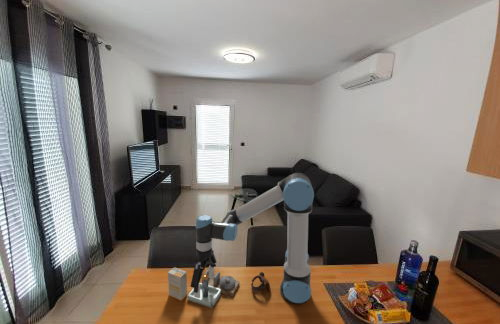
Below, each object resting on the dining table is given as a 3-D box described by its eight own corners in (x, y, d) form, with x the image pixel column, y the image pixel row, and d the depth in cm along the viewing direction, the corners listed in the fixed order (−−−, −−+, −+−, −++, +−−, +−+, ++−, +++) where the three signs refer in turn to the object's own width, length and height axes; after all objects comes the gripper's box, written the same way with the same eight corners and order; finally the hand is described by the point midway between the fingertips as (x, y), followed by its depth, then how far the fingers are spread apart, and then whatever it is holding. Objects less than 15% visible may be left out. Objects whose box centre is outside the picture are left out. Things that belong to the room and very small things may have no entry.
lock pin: (209, 292, 108) (209, 273, 107) (208, 298, 105) (208, 278, 103) (202, 292, 108) (202, 273, 107) (200, 298, 105) (200, 278, 103)
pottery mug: (272, 297, 108) (265, 287, 105) (255, 301, 110) (248, 291, 107) (271, 275, 119) (265, 266, 116) (256, 280, 121) (249, 271, 118)
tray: (221, 293, 109) (221, 289, 108) (212, 308, 100) (212, 303, 100) (198, 286, 113) (198, 282, 113) (187, 299, 104) (187, 295, 104)
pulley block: (239, 284, 116) (239, 274, 115) (232, 296, 107) (232, 286, 106) (209, 275, 121) (209, 266, 120) (201, 286, 113) (201, 276, 112)
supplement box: (187, 294, 108) (187, 271, 105) (181, 301, 103) (180, 277, 101) (175, 289, 111) (174, 266, 109) (168, 295, 107) (167, 272, 104)
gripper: (210, 234, 115) (210, 269, 118) (181, 260, 92) (182, 304, 95) (222, 236, 112) (222, 273, 116) (196, 264, 89) (197, 309, 93)
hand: (204, 287), depth 106 cm, fingers open, 13 cm apart
